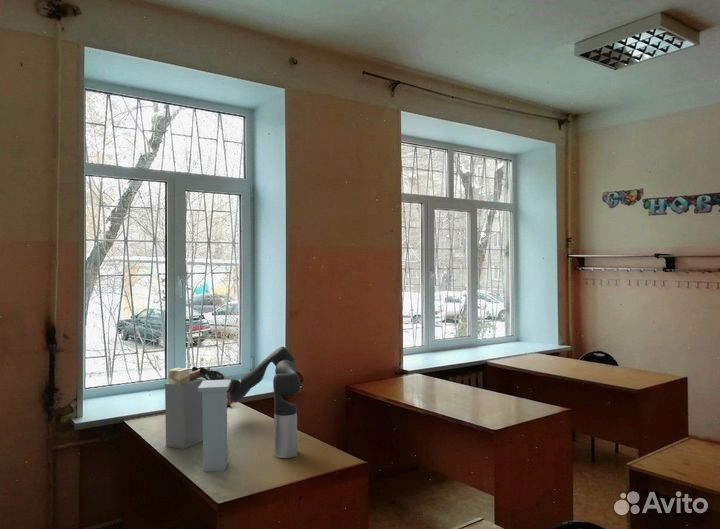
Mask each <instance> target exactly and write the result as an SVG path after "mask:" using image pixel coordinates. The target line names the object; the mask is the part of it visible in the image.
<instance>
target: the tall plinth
mask: <svg viewBox="0 0 720 529" xmlns="http://www.w3.org/2000/svg"><path fill="white" fill-rule="evenodd" d="M230 385H231V380H202V383H201V384H200V386H199V387H198V392H202V406H203V440H202V460H203V461H202V463H203V464H202V466H203V467H202V471H203V472H217V471H218V472H219V471H220V472H221V471H226V468H227V464H228V461H229V459H228V453H229V452H228V406H227V391H228V389H229V387H230Z"/></svg>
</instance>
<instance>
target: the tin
mask: <svg viewBox="0 0 720 529" xmlns="http://www.w3.org/2000/svg"><path fill="white" fill-rule="evenodd" d="M232 402H233V401H232V400H231V399H230V397H229V393H227V407H229V406H228V405H230V406H231V405H232Z"/></svg>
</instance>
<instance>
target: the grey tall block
mask: <svg viewBox="0 0 720 529" xmlns="http://www.w3.org/2000/svg"><path fill="white" fill-rule="evenodd" d="M202 381H203V378H202V379H201V378H197V379H194V380H191V381H189V382H188V383H185V384H182V385H172V384H169V382H167V383H165V384H164V390H165V391H164V396H165V398H164V400H165V402H164V403H165V404H164V405H165V408H164V409H165V447H169V448H176V449H181V450H185V449H187V448H189V447H192V446H193V445H196V444H198V443H200V442H201V441H202V442H203V406H202V392H198V387H199V386H200V384H201V383H202Z"/></svg>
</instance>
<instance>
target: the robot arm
mask: <svg viewBox="0 0 720 529" xmlns="http://www.w3.org/2000/svg"><path fill="white" fill-rule="evenodd" d="M271 363H272V364H273V365H274V366H275V369H274V370H275V371H274V372H275V374H274V376H273V380H272V384H273V386H272V388H273V402H274V403H273V406H274V407H273V412H274V413H273V419H274V420H273V423H274V424H273V426H274V429H273V430H274V432H273V433H274V435H273V436H274V438H273V440H274V448H273V449H274V456H275V457H276V458H279V459H291V458H294V457H298V415H297V414H298V407H297V404H295V403H293V402H289V401H287V400H285V399H283V398H284V397H295V396H297V395H298V394H299V393H300V391H301V380H300V377H299V375H298V373H297V369H296V366H295V364H296V360H295V358H294V356H293V355H292V354H291V353H290V351H289V350H288V349H287V348H286V347H285V346H280V347H278V348H277V349H275V350H274V351H272V352H271V353H270V354H269V355H268V356H267V357H266V358H265V359H264V360H262V362H260V363H259V364H258V365H257V366H256V367H255V368H253V369H252V370H251V371H250V372H248V373H247V374H245V375H244V376H243V377H241V379H240V380H239V379H233V378H229V377H228V376H226V375H225V374H224V373H222V372H220V371H219V370H216V369H210V370H208V369H205V368H204V367H203V366H201V367H200V368H198V367H196V366H192V369H191V371H194V370H198V369H200V370H199V371H200V372H201V373H203V374H205V375H206V376H203V377H200V379H201V378H202V380H203V381H205V380H231V385H230V387H229V389H228V391H227V393H229V397H230V399H231V400H232V402H239V401H241V400H243V399H244V398H245V397H246V395H247V394H248V393H249V392H250V391H251V389H253V388H254V387H255V386H257V385H258V384H260V382H261V381H262V380H264V376H265V374H266V371H267V368H268V367H269V365H270V364H271Z"/></svg>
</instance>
